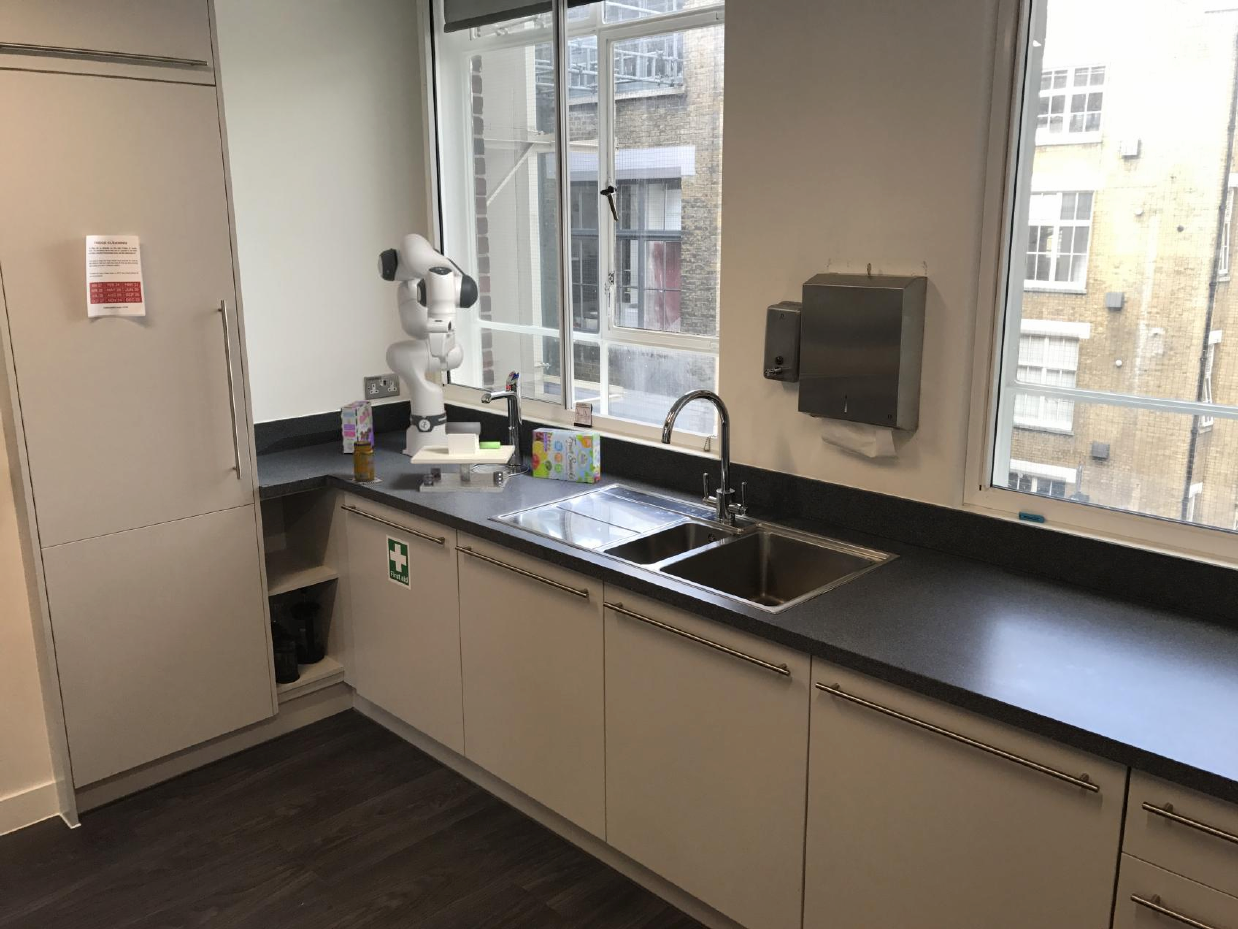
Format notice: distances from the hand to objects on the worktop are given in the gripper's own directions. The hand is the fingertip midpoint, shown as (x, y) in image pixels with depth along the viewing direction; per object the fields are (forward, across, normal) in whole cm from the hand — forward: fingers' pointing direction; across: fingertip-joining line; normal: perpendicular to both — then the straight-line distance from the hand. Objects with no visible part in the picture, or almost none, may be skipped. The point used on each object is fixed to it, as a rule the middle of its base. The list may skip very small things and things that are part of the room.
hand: (444, 367), depth 307 cm
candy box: (+36, -35, -38) cm, 63 cm away
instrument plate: (+25, +11, +7) cm, 28 cm away
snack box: (+34, +3, +37) cm, 51 cm away
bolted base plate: (+34, +12, +7) cm, 36 cm away
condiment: (+34, +6, -24) cm, 43 cm away
